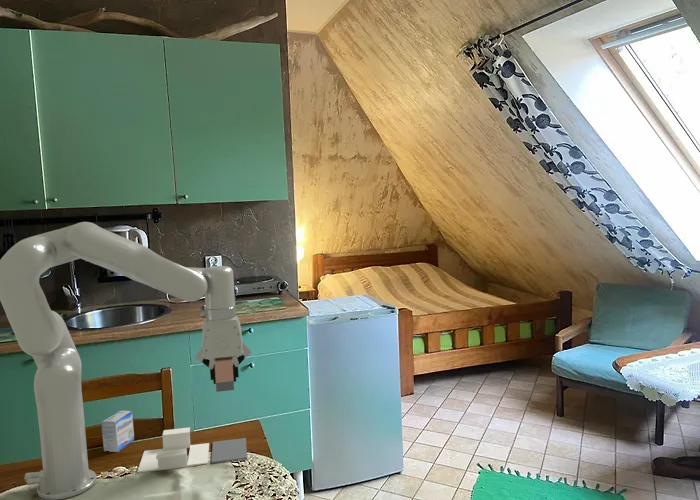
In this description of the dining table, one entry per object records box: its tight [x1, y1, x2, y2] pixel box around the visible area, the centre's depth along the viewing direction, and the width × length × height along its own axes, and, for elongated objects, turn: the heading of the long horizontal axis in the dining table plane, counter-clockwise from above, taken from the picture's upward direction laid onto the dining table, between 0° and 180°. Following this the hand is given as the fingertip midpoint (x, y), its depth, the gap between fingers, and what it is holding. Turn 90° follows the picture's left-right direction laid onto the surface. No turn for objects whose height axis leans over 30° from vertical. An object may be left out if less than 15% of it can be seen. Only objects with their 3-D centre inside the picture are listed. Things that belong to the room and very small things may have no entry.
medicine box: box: [101, 410, 135, 453], centre depth 153 cm, size 8×4×9 cm, turn 169°
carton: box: [137, 426, 210, 474], centre depth 145 cm, size 17×16×4 cm
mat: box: [211, 437, 248, 465], centre depth 148 cm, size 9×12×1 cm
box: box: [214, 357, 235, 393], centre depth 146 cm, size 4×6×8 cm
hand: (225, 380), depth 146 cm, fingers closed on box, 4 cm apart
